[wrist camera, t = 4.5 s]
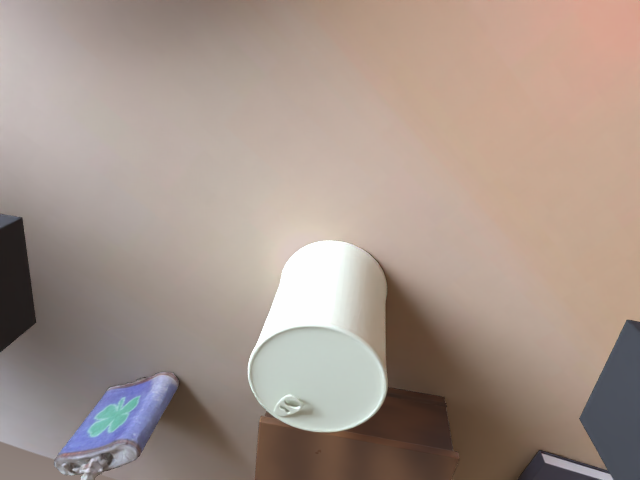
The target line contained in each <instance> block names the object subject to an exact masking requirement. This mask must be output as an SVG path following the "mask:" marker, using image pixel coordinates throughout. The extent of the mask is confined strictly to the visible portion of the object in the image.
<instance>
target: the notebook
mask: <svg viewBox="0 0 640 480" xmlns="http://www.w3.org/2000/svg"><path fill="white" fill-rule="evenodd" d="M518 480H613V478H612V477H611V475H610V473H609V471H607V470H603V469H600V468H597V467H593V466H590V465H587V464H584V463H580V462H577V461H574V460H570V459H567V458H564V457H560V456H557V455H554V454H550V453H547V452H544V451H541V450H539V452H538V453H537V454H536V456H535V457H534V458H533V460H532V461H531V462H530V464H529V465H528V466H527V468H526V469H525V470H524V472H523V473H522V474H521V476H520V477H519V478H518Z"/></svg>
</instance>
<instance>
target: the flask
mask: <svg viewBox="0 0 640 480" xmlns="http://www.w3.org/2000/svg"><path fill="white" fill-rule="evenodd" d="M177 380H178V381H177ZM178 385H179V379H178V378H177V377H175V375H174V374H173V373H167V372H166V373H165V372H161V373H156V375H155V376H151V377H147V378H146V377H144V378H140V379H137V380H136V381H135V382H134V383H127V384H125V385H123V386H122V385H118V386H113V387H109V388H108V389H107V391H106V392H105V394H104V395H103V397H102V398H101V400H100V401H99V402H98V404H97V405H96V406H95V408H94V409H93V410H92V411H91V413H90V414H89V415H88V416H87V417H86V419H85V420H84V422H83V423H82V424H81V426H80V427H79V428H78V430H77V431H76V432H75V433H74V435H73V436H72V437H71V439H70V440H69V441H68V442H67V444H66V445H65V447H63V449H62V450H61V452H60V453H59V454H58V455H57V457H56V458H55V462H54V466H55V467H56V468H57V469H58V470H59V471H60V472H61V473H62V474H64V475H78V474H83V476H81V480H94V479H95V477H96V476H98V475H100V474H102V472H104V471H108V470H111V469H114V468H118V467H120V466H122V465H125V464H128V463H130V462H132V461H134V460H136V459H137V458H138V457H139V456H140V455H141V453H142V451H143V449H144V447H145V445H146V443H147V441H148V440H149V438H150V436H151V434H152V432H153V431H154V429H155V427H156V425H157V423H158V421H159V420H160V418H161V416H162V414H163V412H164V410H165V409H166V407H167V406H168V404H169V402H170V400H171V399H172V397H173V395H174V393H175V392H176V390H177V388H178Z"/></svg>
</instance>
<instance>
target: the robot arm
mask: <svg viewBox="0 0 640 480" xmlns="http://www.w3.org/2000/svg"><path fill="white" fill-rule="evenodd" d="M35 323H36V317H35V310H34V302H33V294H32V287H31V279H30V272H29V264H28V256H27V249H26V241H25V234H24V226H23V218H22V217H16V216H10V215H4V214H0V352H2V351H3V350H4V349H5V348H6V347H7V346H9V345H10V344H11V343H12V342H13V341H15V340H16V339H17V338H18V337H19V336H21V335H22V334H23V333H24V332H25V331H27V330H28V329H29V328H30V327H31V326H33V325H34V324H35ZM579 419H580V421H581V423H582V425H583V426H584V428H585V430H586V432H587V434H588V435H589V437H590V439H591V441H592V443H593V444H594V446H595V448H596V450H597V451H598V453H599V455H600V457H601V459H602V460H603V462H604V464H605V466H606V468H607V469H608V471H609V473H610V475H611V477H612V478H613V480H640V322H638V321H632V320H627V321H626V323H625V325H624V327H623V329H622V331H621V333H620V335H619V337H618V339H617V341H616V343H615V345H614V348H613V350H612V352H611V354H610V356H609V358H608V360H607V362H606V364H605V366H604V368H603V370H602V372H601V375H600V377H599V379H598V381H597V383H596V385H595V387H594V389H593V391H592V393H591V395H590V397H589V400H588V402H587V404H586V406H585V408H584V410H583V412H582V414H581V416H580V418H579Z"/></svg>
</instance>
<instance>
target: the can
mask: <svg viewBox="0 0 640 480" xmlns="http://www.w3.org/2000/svg"><path fill="white" fill-rule="evenodd" d="M386 297H387V282H386V278H385V275H384V272H383V270H382V268H381V267H380V265H379V264H378V263H377V261H376V260H375V259H374V258H373V257H372V256H371V255H370V254H368V253H367V252H366V251H364V250H363V249H361V248H359V247H357V246H355V245H353V244H350V243H346V242H341V241H320V242H316V243H312V244H310V245H307V246H305V247H303V248H302V249H300V250H299V251H297V252H296V253H295V254H294V255H293V256H292V257H291V258H290V259H289V260H288V262H287V263H286V265H285V267H284V269H283V272H282V275H281V282H280V285H279V288H278V291H277V294H276V296H275V299H274V302H273V304H272V307H271V309H270V312H269V315H268V317H267V320H266V322H265V325H264V327H263V330H262V332H261V335H260V337H259V340H258V342H257V344H256V347H255V348H254V350H253V352H252V354H251V356H250V359H249V363H248V380H249V384H250V387H251V389H252V392H253V394H254V396H255V397H256V399H257V400H258V401H259V403H260V404H261V405H262V406H263V407H264V408H265V409H266V410H267V411H268V412H269V413H270V414H271V415H273V416H274V417H276V418H277V419H279V420H280V421H282V422H284V423H286V424H288V425H291V426H293V427H296V428H299V429H303V430H307V431H312V432H338V431H344V430H348V429H351V428H354V427H356V426H359V425H360V424H362V423H364V422H366V421H367V420H369V419H370V418H371V417H372V416H373V415H374V414H375V413H376V412H377V411H378V410H379V409H380V407H381V406H382V404H383V402H384V400H385V397H386V394H387V389H388V376H387V371H386V336H385V302H386Z"/></svg>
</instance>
